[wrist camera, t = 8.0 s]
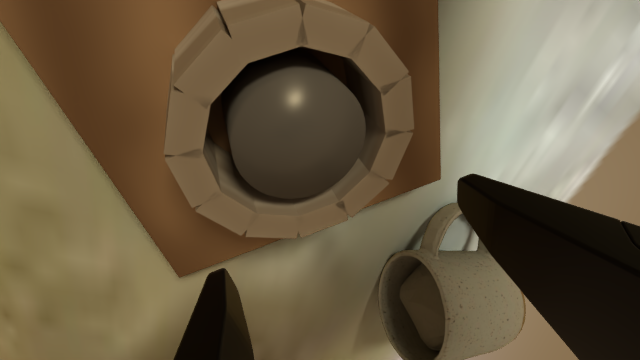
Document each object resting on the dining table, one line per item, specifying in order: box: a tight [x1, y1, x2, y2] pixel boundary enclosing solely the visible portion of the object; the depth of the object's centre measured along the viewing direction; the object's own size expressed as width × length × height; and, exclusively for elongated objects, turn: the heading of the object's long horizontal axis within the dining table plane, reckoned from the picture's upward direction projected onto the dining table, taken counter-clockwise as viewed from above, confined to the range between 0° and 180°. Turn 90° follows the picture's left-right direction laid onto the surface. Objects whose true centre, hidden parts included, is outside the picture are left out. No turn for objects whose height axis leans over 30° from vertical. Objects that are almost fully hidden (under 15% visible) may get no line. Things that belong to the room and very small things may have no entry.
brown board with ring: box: [0, 0, 441, 278], centre depth 16 cm, size 16×16×6 cm
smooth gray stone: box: [221, 47, 366, 199], centre depth 15 cm, size 5×5×4 cm
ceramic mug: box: [378, 203, 526, 360], centre depth 27 cm, size 11×8×8 cm
